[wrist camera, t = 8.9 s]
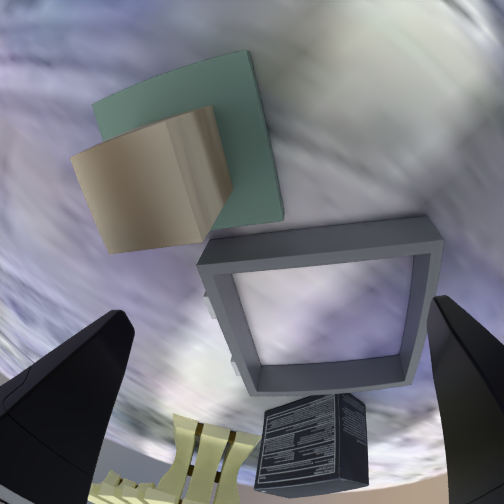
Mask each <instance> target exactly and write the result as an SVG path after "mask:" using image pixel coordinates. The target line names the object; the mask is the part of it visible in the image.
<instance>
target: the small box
mask: <svg viewBox="0 0 504 504" xmlns="http://www.w3.org/2000/svg"><path fill="white" fill-rule="evenodd" d="M368 476H369V473H368V444H367V426H366V411H365V404H363V403H362V402H361V401H359V400H358V399H357V398H355V397H354V396H353V395H351V394H350V393H340V394H326V395H313V396H310V397H307V398H305V399H302V400H299V401H296V402H293V403H291V404H288V405H285V406H282V407H278V408H275V409H272V410H269V411H266V412H265V414H264V425H263V433H262V440H261V447H260V453H259V459H258V466H257V472H256V479H255V485H254V490H255V491H259V492H264V493H267V494H271V495H276V496H281V497H285V498H298V497H307V496H315V495H323V494H329V493H336V492H341V491H347V490H352V489H357V488H361V487H366V486H369V477H368Z"/></svg>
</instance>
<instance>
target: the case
mask: <svg viewBox="0 0 504 504" xmlns="http://www.w3.org/2000/svg"><path fill="white" fill-rule="evenodd" d="M443 246H444V239H443V237H442V236H441V234H440V233H439V231H438V230H437V229H436V227H435V226H434V224H433V223H432V222H431V220H430V219H429V218H428V216H424V217H413V218H403V219H393V220H383V221H373V222H363V223H353V224H344V225H334V226H325V227H316V228H307V229H298V230H289V231H281V232H272V233H263V234H255V235H247V236H238V237H230V238H222V239H214V240H209V242H208V244H207V246H206V248H205V250H204V252H203V254H202V255H201V257H200V259H199V261H198V263H197V265H196V266H197V269H198V271H199V274H200V276H201V279H202V282H203V284H204V287H205V290H206V291H205V294H204V296H203V298H204V301H205V303H206V306H207V308H208V311H209V313H210V315H211V318H212V319H217V320H218V322H219V325H220V327H221V330H222V332H223V335H224V337H225V340H226V342H227V344H228V347H229V349H230V352H231V354H232V358H231V364H232V367H233V369H234V371H235V373H236V375H237V376H241V377H242V379H243V382H244V384H245V386H246V388H247V391H248V393H249V395H250V396H307V395H326V394H340V393H352V392H362V391H371V390H379V389H387V388H394V387H400V386H407V385H412V382H413V379H414V376H415V373H416V370H417V367H418V363H419V360H420V357H421V353H422V350H423V346H424V342H425V339H426V335H427V317H428V312H429V308H430V303H431V299H432V298H433V297H435V296H436V290H437V285H438V279H439V274H440V267H441V261H442V254H443ZM411 255H414V263H413V273H412V282H411V290H410V297H409V304H408V311H407V317H406V323H405V329H404V334H403V340H402V345H401V350H400V354H399V355H395V356H388V357H380V358H372V359H363V360H353V361H343V362H330V363H316V364H298V365H269V366H261V363H260V360H259V357H258V354H257V351H256V348H255V345H254V342H253V339H252V336H251V333H250V330H249V327H248V324H247V321H246V318H245V315H244V312H243V309H242V305H241V302H240V299H239V296H238V293H237V290H236V287H235V283H234V280H233V277H232V273H243V272H254V271H265V270H276V269H287V268H298V267H308V266H318V265H328V264H338V263H347V262H357V261H366V260H375V259H384V258H393V257H402V256H411Z"/></svg>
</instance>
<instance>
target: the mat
mask: <svg viewBox="0 0 504 504" xmlns="http://www.w3.org/2000/svg"><path fill="white" fill-rule="evenodd" d="M210 105H212V107H213V111H214V115H215V119H216V123H217V127H218V131H219V135H220V138H221V142H222V146H223V150H224V154H225V158H226V162H227V166H228V170H229V174H230V178H231V182H232V185H233V191H232V192H231V194H230V196H229V197H228V199H227V201H226V203H225V204H224V206H223V208H222V210H221V211H220V213H219V215H218V217H217V218H216V220H215V222H214V224H213V225H212V227H211V229H210V230H217V229H224V228H232V227H239V226H247V225H255V224H263V223H271V222H279V221H283V220H284V209H283V204H282V198H281V193H280V188H279V183H278V178H277V173H276V168H275V163H274V158H273V154H272V149H271V144H270V139H269V135H268V130H267V126H266V121H265V117H264V112H263V108H262V103H261V99H260V94H259V90H258V86H257V82H256V77H255V73H254V69H253V65H252V61H251V57H250V53H249V51H248V50H242V51H238V52H234V53H230V54H226V55H222V56H218V57H215V58H211V59H207V60H204V61H201V62H197V63H194V64H191V65H188V66H185V67H181V68H178V69H176V70H173V71H170V72H167V73H164V74H161V75H159V76H156V77H153V78H151V79H148V80H146V81H143V82H141V83H138V84H136V85H133V86H131V87H128V88H126V89H124V90H122V91H119V92H117V93H115V94H113V95H110V96H108V97H106V98H104V99H102V100H100V101H98V102H96V103H94V104H92V106H93V109H94V113H95V116H96V120H97V123H98V126H99V130H100V133H101V136H102V139H103V142H104V141H106V140H108V139H110V138H113V137H115V136H117V135H120V134H122V133H124V132H127V131H129V130H132V129H134V128H137V127H140V126H143V125H146V124H149V123H152V122H155V121H158V120H161V119H164V118H167V117H171V116H174V115H177V114H181V113H184V112H188V111H191V110H195V109H199V108H202V107H206V106H210Z"/></svg>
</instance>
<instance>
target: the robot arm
mask: <svg viewBox="0 0 504 504" xmlns="http://www.w3.org/2000/svg"><path fill="white" fill-rule="evenodd" d="M427 333H428V340H429V347H430V354H431V363H432V372H433V379H434V384H435V389H436V394H437V400H438V405H439V411H440V416H441V423H442V429H443V436H444V444H445V452H446V462H447V473H448V488H449V504H504V345H503V344H502V343H501V342H500V341H499V340H498V339H496V338H495V337H494V336H493V335H492V334H491V333H490V332H489V331H488V330H487V329H486V328H484V327H483V326H482V325H481V324H480V323H479V322H478V321H477V320H475V319H474V318H473V317H472V316H471V315H470V314H469V313H467V312H466V311H465V310H464V309H463V308H462V307H460V306H459V305H458V304H457V303H456V302H454V301H453V300H452V299H451V298H450V297H448V296H446V295H442V296H435V297H433V298H432V299H431V303H430V308H429V312H428V317H427ZM134 336H135V330H134V327H133V326H132V324H131V322H130V320H129V319H128V317H127V315H126V314H125V312H124V311H122V310H111V311H109V312H108V313H106V314H105V315H103V316H102V317H100V318H99V319H97V320H96V321H94V322H93V323H91V324H90V325H89V326H87V327H86V328H84V329H83V330H81V331H80V332H78V333H77V334H75V335H74V336H72V337H71V338H70V339H68V340H67V341H65V342H64V343H62V344H61V345H59V346H58V347H57V348H55V349H54V350H52V351H51V352H49V353H48V354H47V355H45V356H44V357H42V358H41V359H39V360H38V361H37V362H35V363H34V364H33V365H32V366H30V367H28V368H27V369H25V370H24V371H22V372H21V373H20V374H18V375H17V376H15V377H14V378H12V379H11V380H9V381H8V382H6V383H5V384H3V385H1V386H0V504H87V500H88V496H89V492H90V488H91V484H92V480H93V475H94V471H95V468H96V464H97V460H98V456H99V453H100V450H101V446H102V443H103V439H104V436H105V433H106V429H107V426H108V423H109V420H110V417H111V413H112V410H113V407H114V404H115V401H116V398H117V395H118V392H119V389H120V386H121V383H122V380H123V377H124V374H125V370H126V367H127V363H128V359H129V355H130V351H131V347H132V343H133V339H134Z"/></svg>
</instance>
